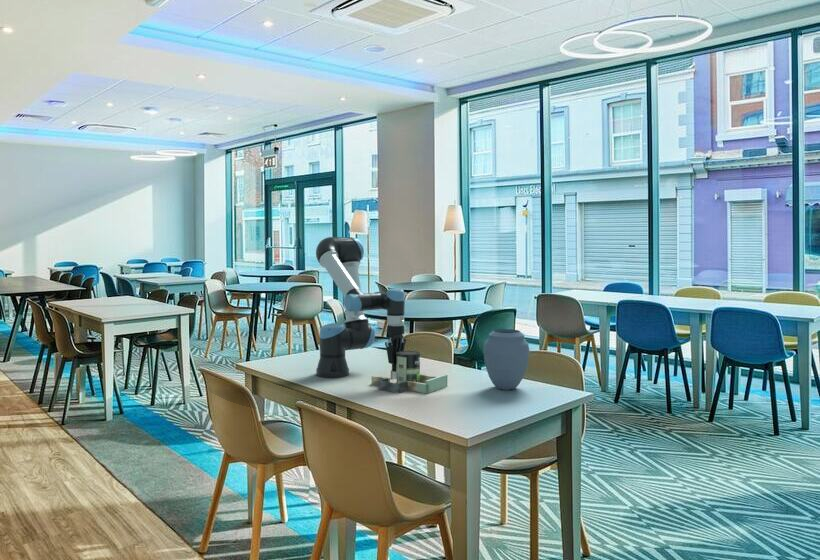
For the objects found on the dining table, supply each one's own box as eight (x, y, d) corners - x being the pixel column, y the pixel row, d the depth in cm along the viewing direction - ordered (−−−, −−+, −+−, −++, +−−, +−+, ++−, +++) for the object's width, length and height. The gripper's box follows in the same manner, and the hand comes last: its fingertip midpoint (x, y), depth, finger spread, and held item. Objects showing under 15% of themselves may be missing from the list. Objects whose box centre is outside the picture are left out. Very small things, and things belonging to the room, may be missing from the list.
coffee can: (422, 382, 287) (422, 350, 286) (417, 388, 277) (417, 355, 276) (399, 381, 289) (399, 350, 288) (393, 386, 279) (393, 354, 278)
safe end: (417, 391, 271) (417, 379, 271) (437, 384, 284) (437, 373, 283) (428, 393, 268) (428, 381, 268) (447, 386, 281) (447, 374, 281)
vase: (524, 395, 265) (525, 335, 264) (477, 391, 272) (478, 332, 270) (532, 385, 284) (533, 329, 282) (488, 381, 290) (489, 326, 289)
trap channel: (362, 386, 279) (362, 378, 279) (400, 375, 302) (400, 367, 302) (409, 394, 266) (409, 386, 266) (445, 382, 289) (445, 374, 289)
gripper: (394, 327, 277) (393, 382, 279) (411, 323, 288) (411, 377, 290) (379, 325, 282) (379, 380, 283) (397, 322, 292) (397, 375, 294)
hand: (395, 378), depth 286 cm, fingers closed
